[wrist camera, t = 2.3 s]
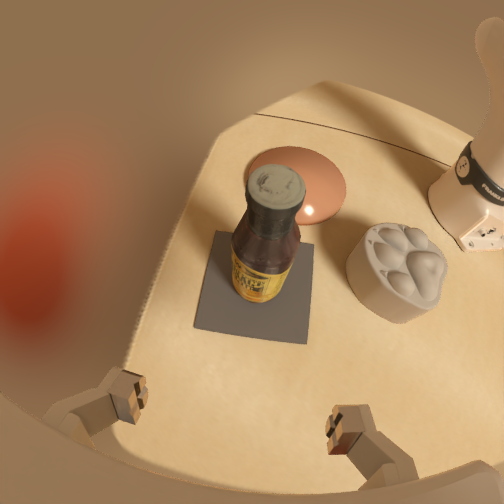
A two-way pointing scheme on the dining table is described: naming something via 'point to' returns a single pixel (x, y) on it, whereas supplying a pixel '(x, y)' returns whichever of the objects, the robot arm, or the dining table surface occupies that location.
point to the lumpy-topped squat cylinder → (396, 272)
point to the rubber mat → (259, 314)
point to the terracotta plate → (310, 181)
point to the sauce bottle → (267, 232)
